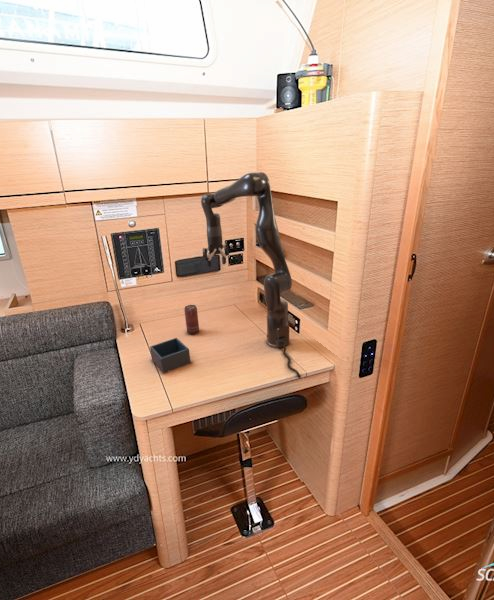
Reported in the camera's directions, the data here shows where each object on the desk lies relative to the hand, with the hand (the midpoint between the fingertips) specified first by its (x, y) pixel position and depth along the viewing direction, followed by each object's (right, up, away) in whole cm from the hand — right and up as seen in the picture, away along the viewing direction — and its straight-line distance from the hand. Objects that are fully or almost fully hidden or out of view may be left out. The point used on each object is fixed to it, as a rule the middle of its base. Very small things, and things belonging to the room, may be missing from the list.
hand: (217, 265), depth 175 cm
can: (-12, -34, -7) cm, 37 cm away
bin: (-19, -45, -31) cm, 57 cm away
